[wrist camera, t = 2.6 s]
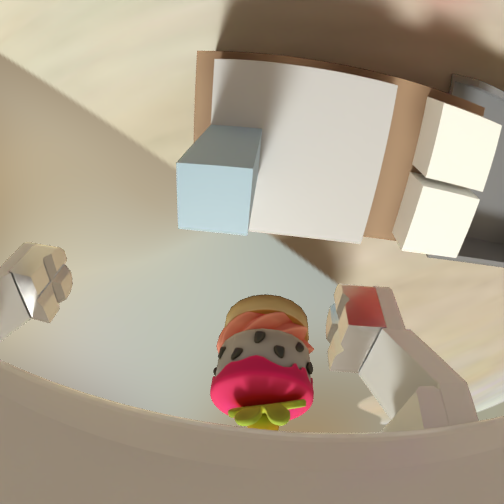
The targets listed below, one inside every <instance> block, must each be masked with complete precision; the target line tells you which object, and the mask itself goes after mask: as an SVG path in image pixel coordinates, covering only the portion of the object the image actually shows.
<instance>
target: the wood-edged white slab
mask: <svg viewBox="0 0 504 504" xmlns="http://www.w3.org/2000/svg"><path fill="white" fill-rule="evenodd" d="M214 59H239V60H254V61H266V62H276V63H285V64H293V65H301V66H308V67H315V68H321V69H327V70H333V71H338V72H344V73H349V74H354V75H358V76H363V77H367V78H372V79H376V80H380V81H384V82H388V83H391V84H395V85H398V88H397V94H396V99H395V105H394V110H393V115H392V121H391V125H390V130H389V135H388V140H387V144H386V149H385V153H384V158H383V162H382V166H381V171H380V175H379V179H378V183H377V187H376V191H375V194H374V198H373V202H372V206H371V210H370V213H369V217H368V220H367V224H366V227H365V231H364V234H363V236H364V237H371V238H379V239H386V240H394V241H396V239H395V237H394V235H393V233H392V231H393V228H394V225H395V222H396V218H397V215H398V212H399V209H400V206H401V202H402V199H403V195H404V192H405V189H406V185H407V181H408V178H409V174H410V172H413V173H417V174H422V173H421V172H420V171H419V170H418V169H417V168H416V167H415V166H414V165H413V164H412V163H413V159H414V155H415V151H416V147H417V143H418V139H419V134H420V130H421V125H422V121H423V116H424V111H425V106H426V101H427V97H430V98H433V99H437V100H440V101H443V102H446V103H448V104H451V105H454V106H457V107H460V108H462V109H465V110H468V111H470V112H473V113H475V114H478V115H480V116H484V111H485V108H484V107H482V106H479V105H477V104H475V103H472V102H470V101H467V100H464V99H462V98H459V97H457V96H454V95H451V94H448V93H446V92H443V91H440V90H437V89H434V88H431V87H428V86H425V85H421V84H418V83H415V82H412V81H408V80H405V79H401V78H397V77H394V76H390V75H386V74H382V73H378V72H374V71H370V70H365V69H361V68H356V67H351V66H347V65H341V64H336V63H331V62H325V61H319V60H312V59H305V58H298V57H290V56H282V55H272V54H261V53H248V52H229V51H197V65H196V85H195V111H194V142H195V141H196V140H197V139H198V138H199V137H200V136H201V135H202V134H203V133H204V132H205V131H206V129H207V128H208V127H209V126H210V125H211V112H212V93H213V75H214ZM422 175H423V174H422Z"/></svg>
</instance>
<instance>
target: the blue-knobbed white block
mask: <svg viewBox="0 0 504 504" xmlns="http://www.w3.org/2000/svg"><path fill="white" fill-rule="evenodd" d="M397 88H398V85H395V84H391V83H388V82H384V81H380V80H376V79H372V78H367V77H363V76H358V75H354V74H349V73H344V72H338V71H333V70H327V69H321V68H315V67H308V66H301V65H293V64H285V63H276V62H266V61H254V60H239V59H214V75H213V93H212V112H211V125H210V126H209V127H208V128H207V129H206V131H205V132H204V133H203V134H202V135H201V136H200V137H199V138H198V139H197V140H196V141H195V142H194V144H193V145H192V146H191V147H190V148H189V149H188V150H187V151H186V152H185V154H184V155H183V156H182V157H181V158H180V159H179V160H178V162H177V163H176V169H177V208H178V229H187V230H197V231H208V232H218V233H226V234H236V235H245V236H247V235H248V231H252V232H261V233H270V234H279V235H288V236H296V237H305V238H313V239H322V240H330V241H339V242H347V243H355V244H361V241H362V238H363V234H364V231H365V227H366V224H367V220H368V217H369V213H370V210H371V206H372V202H373V198H374V194H375V191H376V187H377V183H378V179H379V175H380V171H381V166H382V162H383V158H384V153H385V149H386V144H387V140H388V135H389V130H390V125H391V121H392V115H393V110H394V105H395V99H396V94H397Z"/></svg>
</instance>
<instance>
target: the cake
mask: <svg viewBox="0 0 504 504" xmlns="http://www.w3.org/2000/svg"><path fill="white" fill-rule="evenodd" d="M308 340H309V336H308V323H307V316H306V314H305V313H304V312H303V310H302V308H301V307H300V306H298V305H297V304H295V303H294V302H293V301H291V300H288V299H286V298H283V297H281V296H274V295H256V296H251V297H248V298H245V299H242V300H240V301H239V302H237V303H236V304H235V305H234V306H232V307H231V309H230V311H229V312H228V314H227V317H226V322H225V327H224V329H223V330H222V332H221V334H220V336H219V339H218V342H217V350H218V353H219V355H218V357H219V359H218V365H217V367H216V368H215V369H214V375H215V376H214V377H213V379H212V385H211V391H210V394H211V399H212V401H213V403H214V404H215V406H216V407H217V408H218V409H219V410H221V411H222V412H223V413H225V414H227V415H229V417H231V418H235V421H236V423H237V424H238V425H241V426H247V427H248V428H255V429H265V430H277V431H278V429H279V426H281V425H285V424H287V422H288V421H289V420H291V419H294V418H296V417H299V416H300V415H302V414H304V413H305V412H306V411H307V410H308V409H309V408H310V406H311V405H312V402H313V394H314V392H313V380H312V378H311V377H310V374H312V372H313V367H312V364H311V362H310V357H309V354H310V353H311V352H312V351H313V350H314V348H313V347H312V346H311V345H310V344H309V343H308Z"/></svg>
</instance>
